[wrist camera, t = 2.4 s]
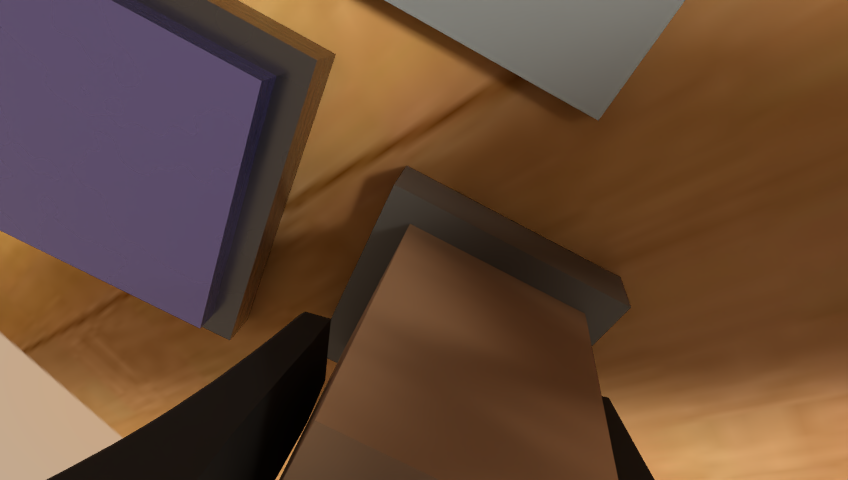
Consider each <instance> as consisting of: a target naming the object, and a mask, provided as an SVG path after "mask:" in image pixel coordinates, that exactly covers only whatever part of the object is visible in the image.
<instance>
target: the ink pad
mask: <svg viewBox="0 0 848 480" xmlns="http://www.w3.org/2000/svg"><path fill="white" fill-rule="evenodd" d="M335 55H336V54H334V53H332V52H331V51H329V50H327V49H325V48H323V47H322V46H320V45H318V44H316V43H314V42H312V41H311V40H309V39H307V38H305V37H303V36H302V35H300V34H298V33H296V32H294V31H292V30H291V29H289V28H287V27H285V26H283V25H281V24H280V23H278V22H276V21H274V20H272V19H271V18H269V17H267V16H265V15H263V14H261V13H260V12H258V11H256V10H254V9H252V8H250V7H249V6H247V5H245V4H243V3H241V2H240V1H238V0H0V231H2V232H4V233H6V234H8V235H10V236H13V237H15V238H17V239H19V240H21V241H23V242H25V243H27V244H29V245H31V246H33V247H35V248H37V249H39V250H41V251H43V252H45V253H47V254H49V255H51V256H53V257H55V258H57V259H59V260H61V261H63V262H65V263H68V264H70V265H72V266H74V267H76V268H78V269H80V270H82V271H84V272H86V273H88V274H90V275H92V276H94V277H96V278H98V279H100V280H102V281H104V282H106V283H108V284H110V285H112V286H114V287H116V288H118V289H120V290H123V291H125V292H127V293H129V294H131V295H133V296H135V297H137V298H139V299H141V300H143V301H145V302H147V303H149V304H151V305H153V306H155V307H157V308H159V309H161V310H163V311H165V312H167V313H169V314H171V315H173V316H175V317H178V318H180V319H182V320H184V321H186V322H188V323H190V324H192V325H194V326H196V327H198V328H201V327H204V328H206V329H208V330H210V331H212V332H214V333H216V334H218V335H220V336H222V337H224V338H226V339H228V340H230V339H231V338H232V337H233V336H234V335H235V334H236V332H237V331H238V330H239V329H240V328H241V326H242V325H243V324H244V323H245V322H246V320H247V319H248V316H249V313H250V310H251V307H252V304H253V301H254V298H255V295H256V292H257V289H258V286H259V283H260V280H261V277H262V274H263V271H264V268H265V265H266V262H267V259H268V256H269V253H270V250H271V247H272V244H273V241H274V238H275V235H276V232H277V229H278V226H279V223H280V220H281V217H282V214H283V211H284V208H285V205H286V202H287V199H288V196H289V193H290V190H291V187H292V184H293V181H294V178H295V175H296V172H297V169H298V166H299V163H300V160H301V157H302V154H303V151H304V148H305V145H306V142H307V139H308V136H309V133H310V130H311V127H312V124H313V121H314V118H315V115H316V112H317V109H318V106H319V103H320V100H321V97H322V94H323V91H324V88H325V85H326V82H327V79H328V76H329V73H330V70H331V67H332V64H333V61H334V58H335Z"/></svg>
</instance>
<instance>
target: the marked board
mask: <svg viewBox="0 0 848 480" xmlns="http://www.w3.org/2000/svg"><path fill="white" fill-rule="evenodd" d="M385 1H387V2H388V3H390V4H392V5H394V6H395V7H397V8H399V9H401V10H403V11H404V12H406V13H408V14H410V15H411V16H413V17H415V18H417V19H419V20H420V21H422V22H424V23H426V24H427V25H429V26H431V27H433V28H435V29H436V30H438V31H440V32H442V33H443V34H445V35H447V36H449V37H451V38H452V39H454V40H456V41H458V42H459V43H461V44H463V45H465V46H467V47H468V48H470V49H472V50H474V51H475V52H477V53H479V54H481V55H483V56H484V57H486V58H488V59H490V60H491V61H493V62H495V63H497V64H499V65H500V66H502V67H504V68H506V69H507V70H509V71H511V72H513V73H515V74H516V75H518V76H520V77H522V78H523V79H525V80H527V81H529V82H531V83H532V84H534V85H536V86H538V87H539V88H541V89H543V90H545V91H547V92H548V93H550V94H552V95H554V96H555V97H557V98H559V99H561V100H563V101H564V102H566V103H568V104H570V105H571V106H573V107H575V108H577V109H579V110H580V111H582V112H584V113H586V114H587V115H589V116H591V117H593V118H595V119H596V120H599V119H600V118H601V116H602V115H603V113H604V112H605V111H606V109H607V108H608V106H609V105H610V104H611V102H612V101H613V100H614V98H615V97H616V95H617V94H618V93H619V91H620V90H621V88H622V87H623V86H624V84H625V83H626V82H627V80H628V79H629V77H630V76H631V75H632V73H633V72H634V70H635V69H636V68H637V66H638V65H639V63H640V62H641V61H642V59H643V58H644V57H645V55H646V54H647V52H648V51H649V50H650V48H651V47H652V45H653V44H654V43H655V41H656V40H657V39H658V37H659V36H660V34H661V33H662V32H663V30H664V29H665V27H666V26H667V25H668V23H669V22H670V20H671V19H672V18H673V16H674V15H675V14H676V12H677V11H678V9H679V8H680V7H681V5H682V4H683V2H684V1H685V0H385Z"/></svg>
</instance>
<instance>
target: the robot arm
mask: <svg viewBox="0 0 848 480" xmlns="http://www.w3.org/2000/svg"><path fill="white" fill-rule="evenodd" d="M330 324H331V319H329V318H325V317H322V316H318V315H315V314H311V313H308V312H304V313H302V314H300V315H299V316H298V317H296V318H295V319H294V320H293V321H292V322H290V323H289V324H288V325H287V326H285V327H284V328H283V329H282V330H280V331H279V332H278V333H277V334H276V335H274V336H273V337H272V338H271V339H269V340H268V341H267V342H265V343H264V344H263V345H262V346H260V347H259V348H258V349H256V350H255V351H254V352H253V353H251V354H250V355H248V356H247V357H246V358H244V359H243V360H242V361H240V362H239V363H238V364H236V365H235V366H234V367H232V368H231V369H229V370H228V371H227V372H225V373H224V374H223V375H221V376H220V377H218V378H217V379H216V380H214V381H213V382H211V383H210V384H208V385H207V386H205V387H204V388H202V389H201V390H199V391H198V392H196V393H195V394H193V395H192V396H190V397H189V398H187V399H186V400H184V401H183V402H181V403H180V404H178V405H177V406H175V407H174V408H172V409H171V410H169V411H168V412H166V413H164V414H163V415H161V416H160V417H158V418H156V419H155V420H153V421H151V422H150V423H148V424H147V425H145V426H143V427H142V428H140V429H138V430H136V431H135V432H133V433H131V434H130V435H128V436H126V437H124V438H123V439H121V440H119V441H118V442H116V443H114V444H112V445H111V446H109V447H107V448H105V449H103V450H101V451H100V452H98V453H96V454H94V455H92V456H90V457H88V458H87V459H85V460H83V461H81V462H79V463H77V464H76V465H74V466H72V467H70V468H68V469H66V470H64V471H63V472H60V473H59V474H57V475H55V476H53V477H51V478H49V479H47V480H275V479H276V477H277V476H278V474H279V472H280V470H281V469H282V467H283V465H284V463H285V461H286V460H287V458H288V456H289V454H290V452H291V451H292V449H293V447H294V445H295V444H296V442H297V440H298V438H299V436H300V435H301V433H302V431H303V429H304V427H305V425H306V424H307V421H308V419H309V417H310V415H311V412H312V410H313V408H314V406H315V403H316V401H317V398H318V396H319V394H320V391H321V389H322V387H323V384H324V382H325V375H326V365H327V355H328V345H329V334H330ZM602 401H603V406H604V411H605V416H606V421H607V426H608V431H609V436H610V441H611V446H612V451H613V456H614V461H615V466H616V471H617V476H618V480H654V478H653V476H652V474H651V473H650V471H649V469H648V467H647V466H646V464H645V462H644V460H643V459H642V457H641V455H640V453H639V451H638V450H637V448H636V446H635V444H634V442H633V441H632V439H631V437H630V435H629V433H628V432H627V430H626V428H625V426H624V424H623V423H622V421H621V419H620V417H619V415H618V414H617V412H616V410H615V408H614V406H613V405H612V403H611V401H610V399H609V398H607V397H603V396H602Z"/></svg>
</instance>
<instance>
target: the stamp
mask: <svg viewBox="0 0 848 480" xmlns="http://www.w3.org/2000/svg"><path fill="white" fill-rule="evenodd" d="M630 308H631V306H630V303H629V300H628V297H627V295H626V292H625V289H624V286H623V283H622V280H621V278H620V277H619V276H617V275H615V274H613V273H611V272H609V271H607V270H605V269H603V268H601V267H599V266H597V265H596V264H594V263H592V262H590V261H588V260H586V259H584V258H582V257H580V256H578V255H576V254H575V253H573V252H571V251H569V250H567V249H565V248H563V247H561V246H559V245H557V244H555V243H554V242H552V241H550V240H548V239H546V238H544V237H542V236H540V235H538V234H536V233H534V232H533V231H531V230H529V229H527V228H525V227H523V226H521V225H519V224H517V223H515V222H513V221H511V220H510V219H508V218H506V217H504V216H502V215H500V214H498V213H496V212H494V211H492V210H490V209H489V208H487V207H485V206H483V205H481V204H479V203H477V202H475V201H473V200H471V199H469V198H468V197H466V196H464V195H462V194H460V193H458V192H456V191H454V190H452V189H450V188H448V187H447V186H445V185H443V184H441V183H439V182H437V181H435V180H433V179H431V178H429V177H427V176H426V175H424V174H422V173H420V172H418V171H416V170H414V169H412V168H410V167H408V166H406V167H405V169H404V170H403V172H402V174H401V175H400V177H399V178H398V180H397V181H396V183H395V184H394V186H393V188H392V190H391V192H390V194H389V197H388V199H387V201H386V203H385V205H384V207H383V209H382V212H381V214H380V216H379V218H378V220H377V222H376V224H375V226H374V229H373V231H372V233H371V235H370V237H369V239H368V241H367V243H366V246H365V248H364V250H363V252H362V254H361V256H360V258H359V260H358V263H357V265H356V267H355V269H354V271H353V273H352V275H351V278H350V280H349V282H348V284H347V286H346V288H345V290H344V292H343V295H342V297H341V299H340V301H339V303H338V305H337V307H336V309H335V312H334V314H333V316H332V318H331V324H330V334H329V345H328V355H327V358H328V359H330V360H332V361H334V362H336V363H337V365H336V367H335V369H334V371H333V373H332V375H331V377H330V379H329V381H328V383H327V385H326V387H325V389H324V391H323V393H322V395H321V397H320V399H319V401H318V403H317V405H316V407H315V409H314V411H313V413H312V415H311V417H310V419H309V421H308V423H307V425H306V427H305V429H304V431H303V433H302V435H301V437H300V439H299V441H298V443H297V445H296V447H295V449H294V451H293V453H292V455H291V457H290V459H289V461H288V463H287V465H286V467H285V469H284V471H283V473H282V475H281V477H280V479H279V480H618V476H617V471H616V466H615V461H614V456H613V451H612V446H611V441H610V436H609V431H608V426H607V421H606V416H605V411H604V406H603V401H602V396H601V391H600V386H599V381H598V376H597V371H596V366H595V361H594V356H593V350H592V346H593V345H594V344H595V343H596V342H597V341H598V340H599V339H600V338H601V337H602V336H603V335H604V334H605V333H606V332H607V331H608V330H609V329H610V328H611V327H612V326H613V325H614V324H615V323H616V322H617V321H618V320H619V319H620V318H621V317H622V316H623V315H624V314H625V313H626V312H627V311H628V310H629V309H630Z"/></svg>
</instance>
